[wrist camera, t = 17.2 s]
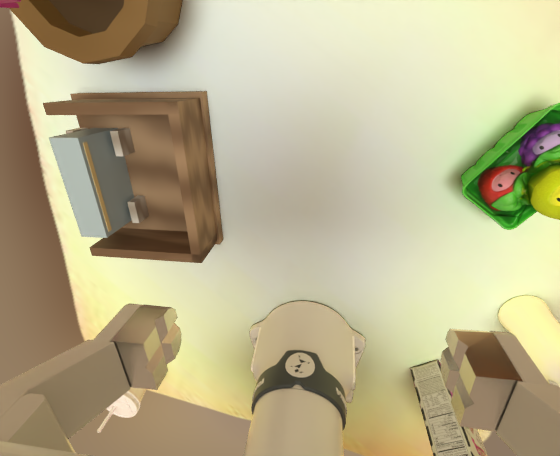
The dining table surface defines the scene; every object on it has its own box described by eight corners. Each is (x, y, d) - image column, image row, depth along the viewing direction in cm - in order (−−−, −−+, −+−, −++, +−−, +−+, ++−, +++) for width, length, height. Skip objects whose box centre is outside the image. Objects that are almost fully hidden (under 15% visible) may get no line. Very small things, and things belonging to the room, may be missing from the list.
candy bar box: (467, 400, 53) (518, 525, 38) (438, 408, 55) (476, 529, 40) (438, 356, 50) (481, 474, 35) (408, 366, 52) (437, 481, 37)
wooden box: (223, 239, 46) (204, 267, 40) (117, 233, 49) (83, 258, 42) (206, 91, 38) (179, 95, 31) (79, 93, 40) (28, 97, 34)
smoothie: (129, 345, 60) (76, 416, 47) (160, 347, 59) (114, 420, 46) (138, 369, 63) (90, 442, 50) (168, 371, 62) (126, 446, 49)
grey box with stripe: (92, 127, 40) (48, 137, 34) (118, 127, 40) (78, 137, 34) (115, 214, 46) (81, 236, 39) (138, 215, 45) (107, 237, 39)
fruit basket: (531, 94, 33) (617, 103, 23) (587, 146, 34) (692, 176, 24) (443, 177, 38) (482, 214, 28) (495, 220, 39) (551, 270, 29)
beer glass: (482, 314, 45) (545, 414, 32) (526, 283, 42) (615, 380, 29) (517, 339, 46) (592, 446, 33) (563, 310, 43) (665, 417, 30)
